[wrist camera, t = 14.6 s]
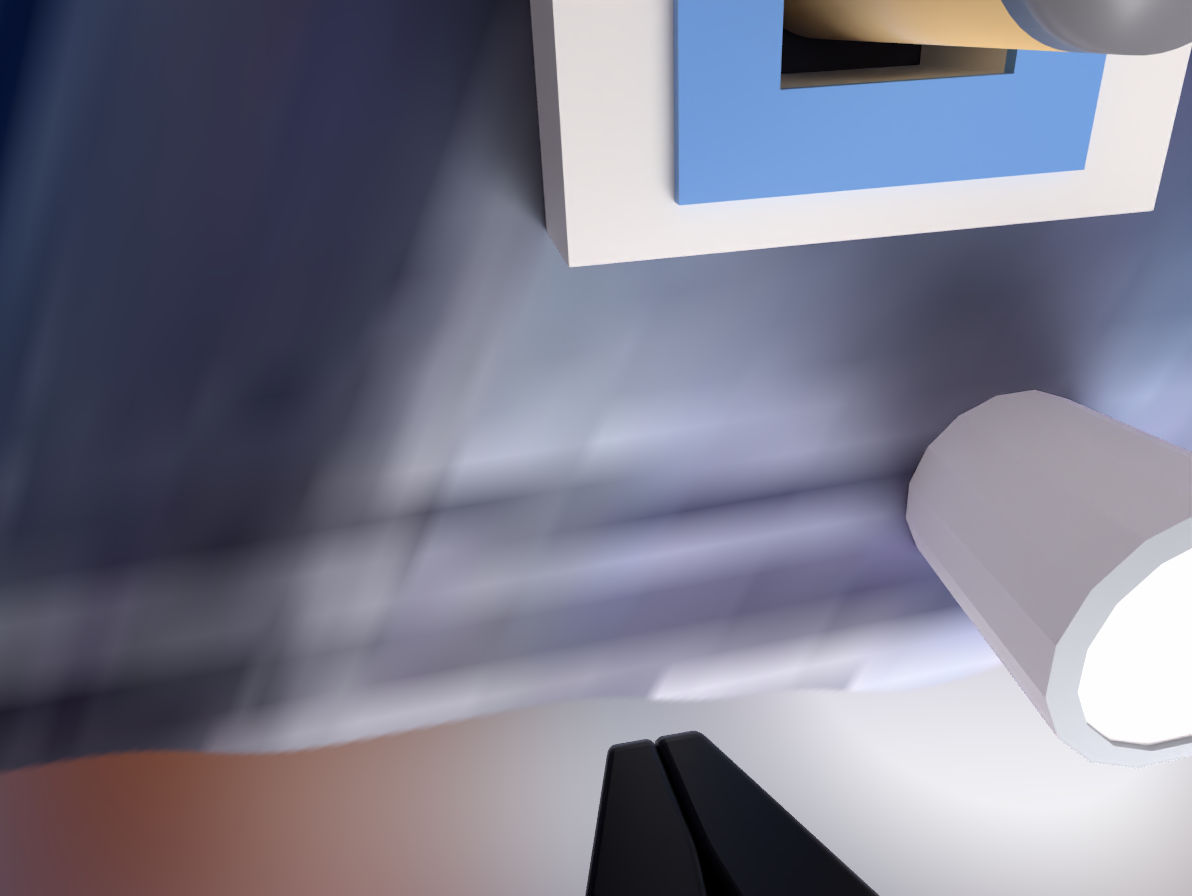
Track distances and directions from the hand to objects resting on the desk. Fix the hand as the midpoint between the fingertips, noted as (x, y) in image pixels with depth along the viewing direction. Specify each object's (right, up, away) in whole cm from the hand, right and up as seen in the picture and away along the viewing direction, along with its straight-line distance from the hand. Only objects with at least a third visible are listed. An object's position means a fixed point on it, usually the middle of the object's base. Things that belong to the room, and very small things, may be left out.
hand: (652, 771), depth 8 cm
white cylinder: (+11, +2, +16) cm, 20 cm away
